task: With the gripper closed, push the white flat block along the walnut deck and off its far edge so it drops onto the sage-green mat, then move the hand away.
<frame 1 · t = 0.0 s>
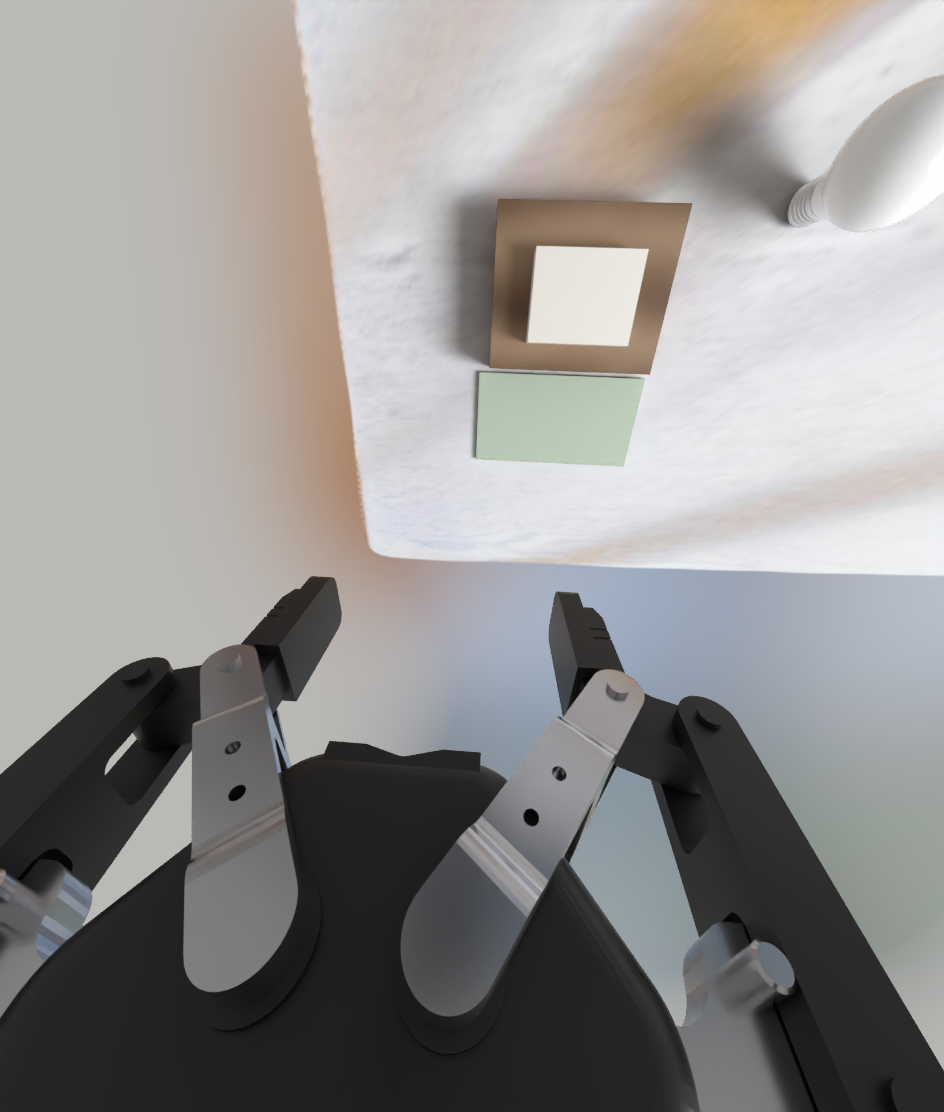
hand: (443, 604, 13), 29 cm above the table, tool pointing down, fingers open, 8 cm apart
white flat block: (579, 301, 29), point 4 cm above the table, touching deck
mat: (554, 421, 37), on the table
lightbulb: (798, 209, 29), on the table
deck: (571, 300, 32), on the table
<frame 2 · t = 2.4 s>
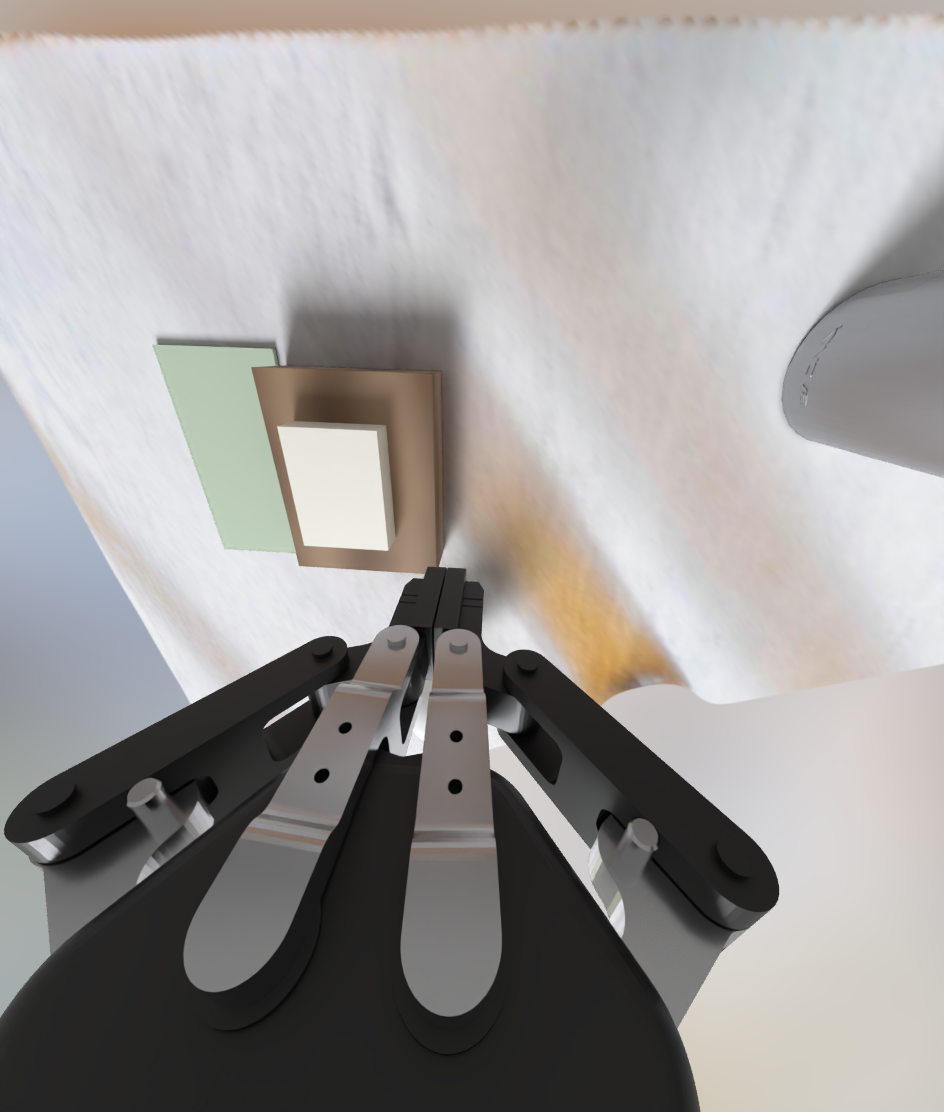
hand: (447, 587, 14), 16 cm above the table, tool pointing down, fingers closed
white flat block: (348, 483, 25), point 4 cm above the table, touching deck
mat: (247, 462, 29), on the table
lightbulb: (454, 635, 36), on the table
deck: (373, 468, 28), on the table
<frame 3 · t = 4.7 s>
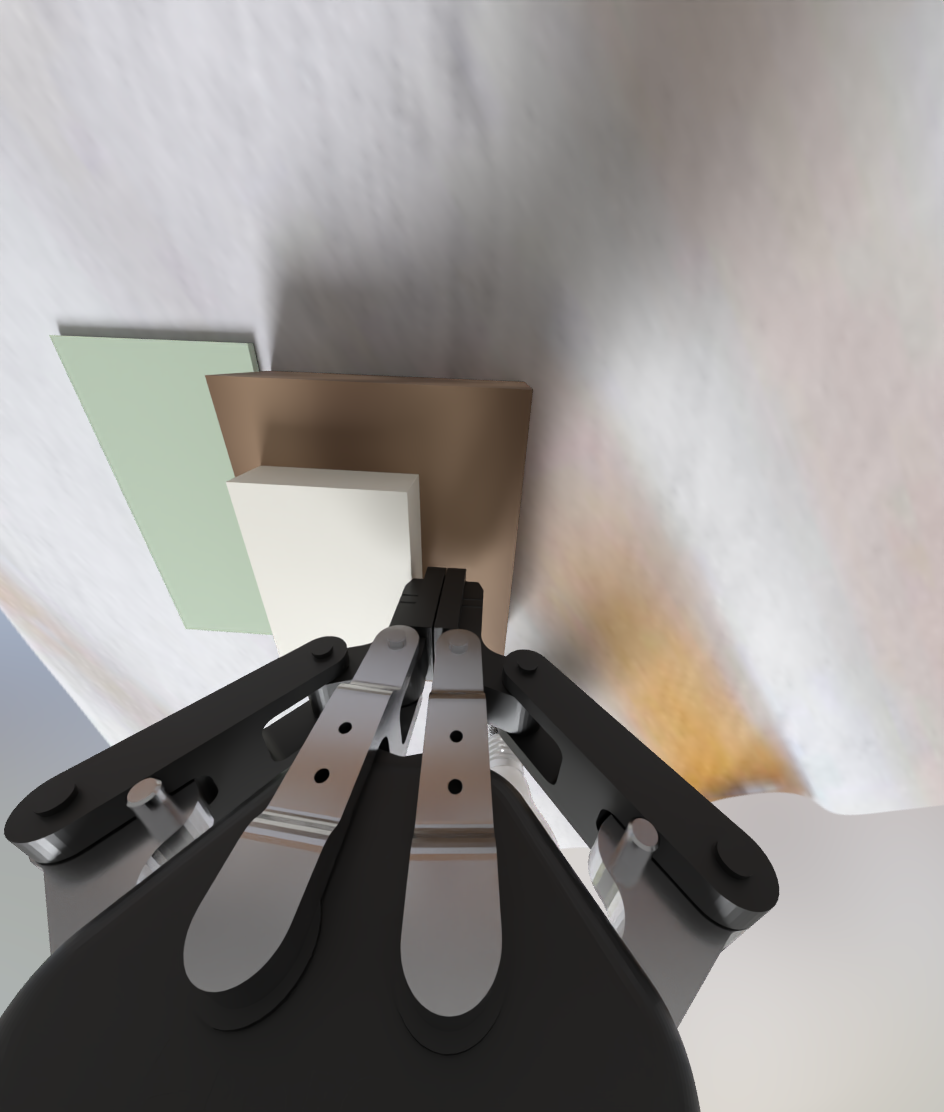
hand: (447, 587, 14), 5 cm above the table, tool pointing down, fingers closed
white flat block: (352, 562, 15), point 4 cm above the table, touching deck
mat: (215, 514, 19), on the table
lightbulb: (503, 733, 27), on the table
deck: (405, 525, 19), on the table
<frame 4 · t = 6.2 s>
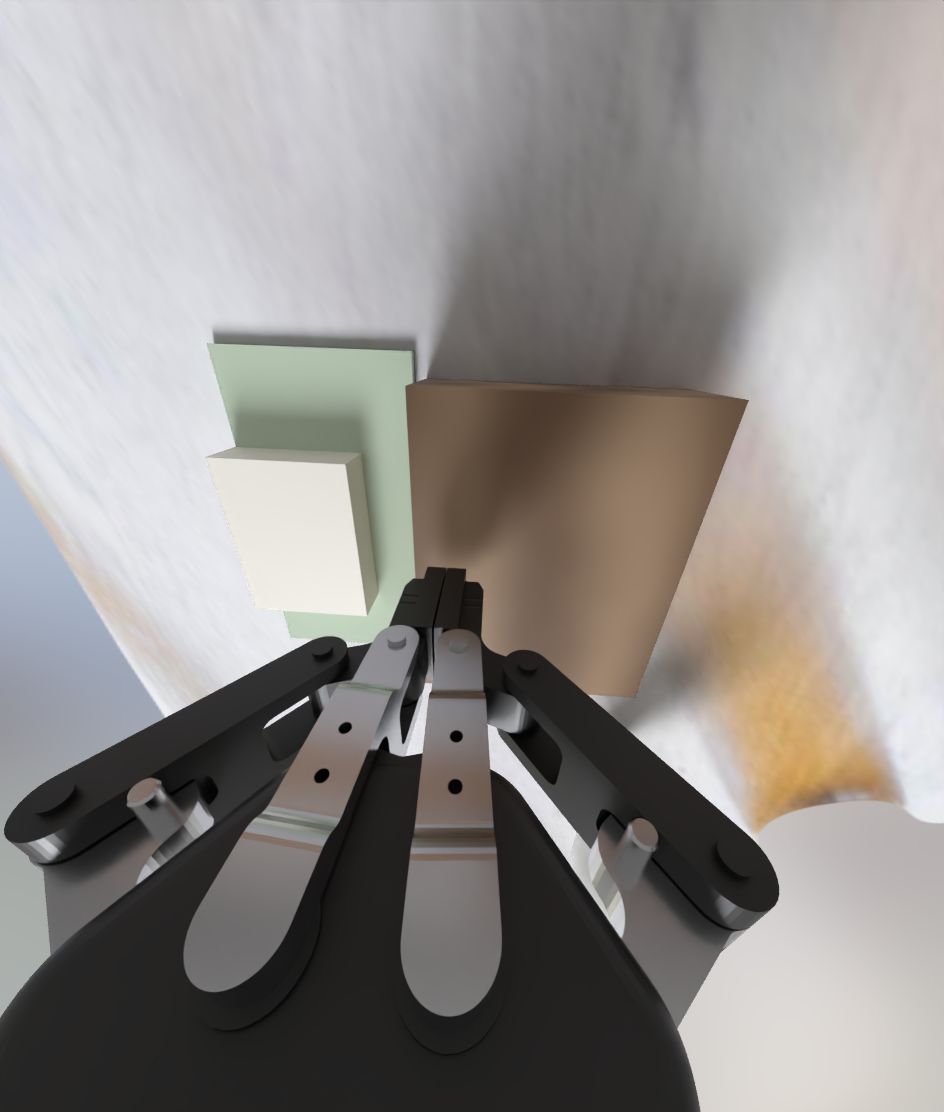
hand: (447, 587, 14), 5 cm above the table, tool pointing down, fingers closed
white flat block: (294, 545, 17), point 2 cm above the table, tilted 180°, touching mat
mat: (340, 522, 19), on the table
lightbulb: (595, 741, 27), on the table
deck: (535, 534, 18), on the table
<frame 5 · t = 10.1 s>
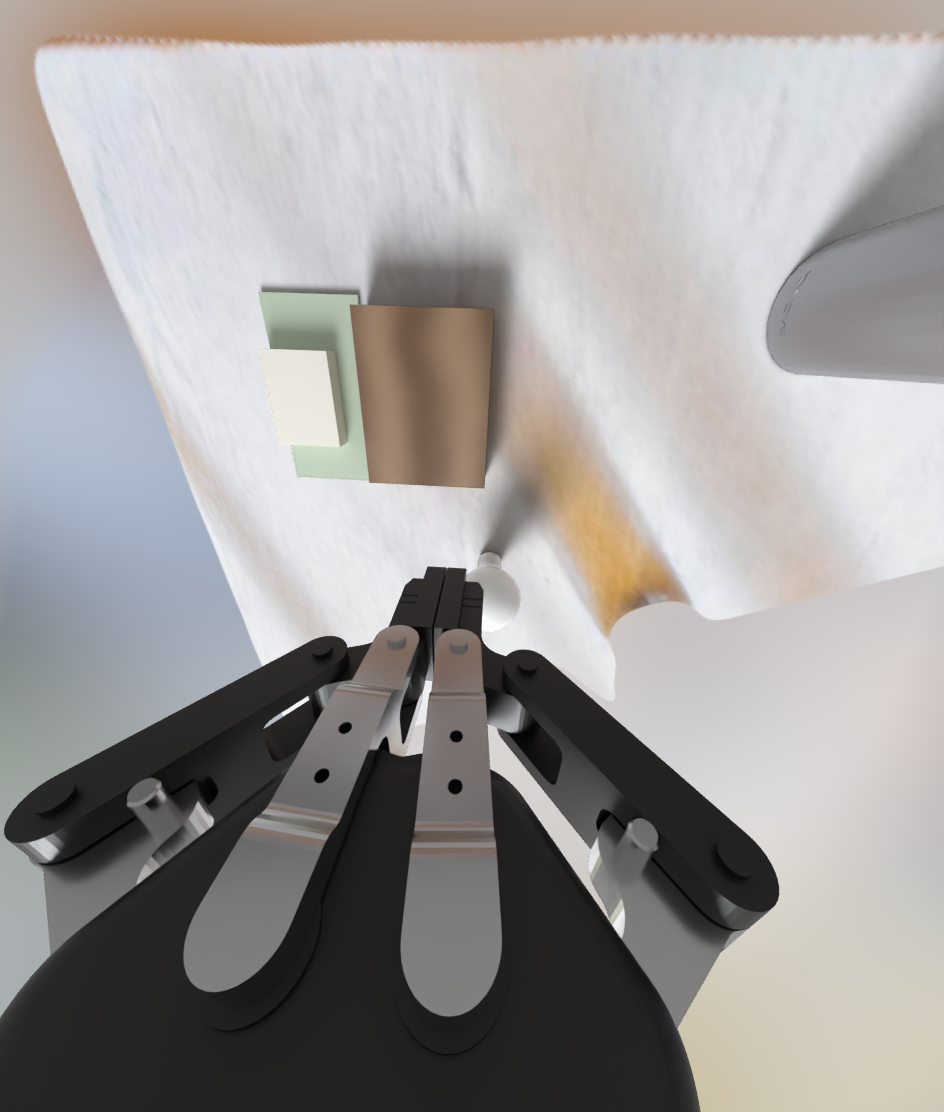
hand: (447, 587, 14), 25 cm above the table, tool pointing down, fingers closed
white flat block: (300, 400, 32), point 2 cm above the table, tilted 180°, touching mat
mat: (325, 396, 34), on the table
lightbulb: (489, 558, 42), on the table
deck: (431, 401, 34), on the table
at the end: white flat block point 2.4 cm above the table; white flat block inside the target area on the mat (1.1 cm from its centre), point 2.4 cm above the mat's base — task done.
